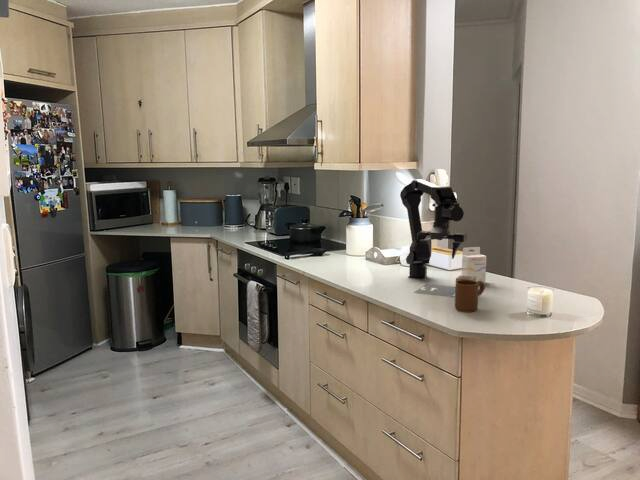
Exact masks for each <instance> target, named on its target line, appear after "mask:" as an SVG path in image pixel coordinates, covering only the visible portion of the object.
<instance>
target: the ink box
mask: <svg viewBox="0 0 640 480" xmlns="http://www.w3.org/2000/svg"><path fill="white" fill-rule="evenodd" d="M471 250H472V251H471ZM461 275H462V276H472V277H476V282H477V281H482V282H483V283H484V284H486V276H487V255H484V254H481V247H480V246H473V247H463V248H462V255H461Z"/></svg>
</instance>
